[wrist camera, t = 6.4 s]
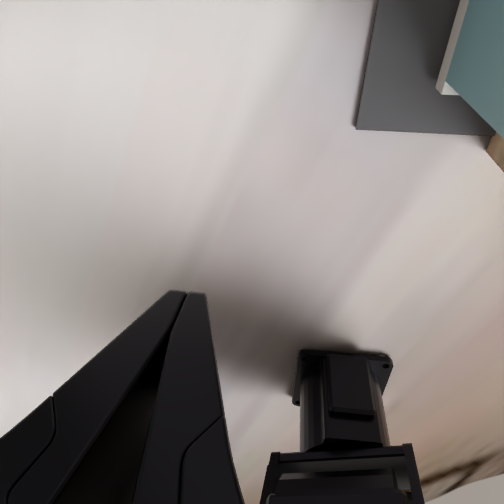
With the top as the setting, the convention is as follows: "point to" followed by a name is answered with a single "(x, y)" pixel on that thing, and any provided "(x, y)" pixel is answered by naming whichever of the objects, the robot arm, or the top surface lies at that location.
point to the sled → (477, 60)
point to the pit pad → (413, 72)
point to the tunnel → (497, 150)
